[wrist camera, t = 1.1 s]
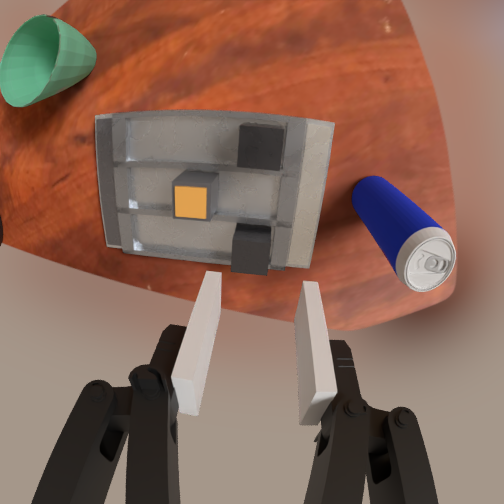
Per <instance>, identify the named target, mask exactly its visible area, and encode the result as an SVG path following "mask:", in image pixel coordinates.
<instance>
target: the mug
mask: <svg viewBox="0 0 504 504" xmlns="http://www.w3.org/2000/svg"><path fill="white" fill-rule="evenodd" d="M95 63H96V51H95V49H94V48H93V46H92V45H91V44H90V42H89V41H88V40H87V39H86V38H85V37H84V36H83V35H82V34H81V33H79V32H78V31H77V30H76V29H75V28H73V27H71V26H70V25H68V24H67V23H65V22H63V21H62V20H60V19H58V18H56V17H53V16H50V15H45V14H43V15H39V16H34V17H32V18H31V19H29V20H28V21H26V22H25V23H24V24H23V25H22V26H21V27H20V28H19V29H18V30H17V31H16V32H15V33H14V35H13V36H12V38H11V40H10V41H9V43H8V45H7V47H6V49H5V52H4V54H3V57H2V61H1V62H0V88H1V92H2V95H3V97H4V98H5V100H6V102H7V103H9V104H10V105H12V106H13V107H26V106H29V105H31V104H34V103H36V102H38V101H41V100H43V99H46V98H48V97H50V96H53V95H55V94H57V93H59V92H61V91H63V90H65V89H67V88H69V87H71V86H73V85H74V84H76V83H77V82H79V81H80V80H82V79H84V78H85V77H86V76H88V75H89V74H90V72H91V71H92V70H93V68H94V66H95Z"/></svg>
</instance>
